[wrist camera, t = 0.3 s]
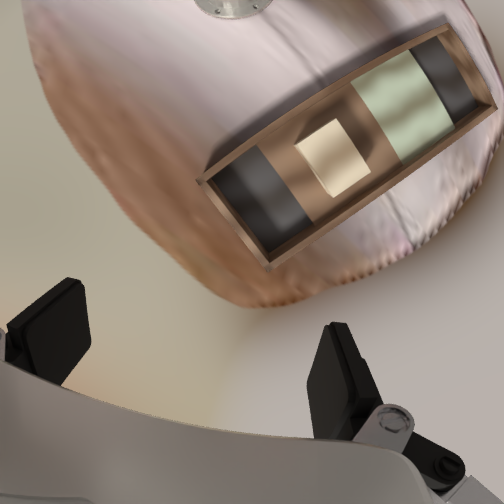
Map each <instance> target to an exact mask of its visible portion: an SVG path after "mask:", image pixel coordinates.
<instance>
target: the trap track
mask: <svg viewBox="0 0 504 504" xmlns="http://www.w3.org/2000/svg"><path fill="white" fill-rule="evenodd" d="M497 109H498V108H497V106H496V104H495V101H494V99H493V97H492V95H491V93H490V91H489V89H488V87H487V85H486V83H485V81H484V79H483V78H482V76H481V74H480V72H479V70H478V68H477V67H476V65H475V63H474V61H473V60H472V58H471V56H470V55H469V53H468V51H467V50H466V48H465V47H464V45H463V44H462V42H461V40H460V39H459V37H458V36H457V34H456V33H455V31H454V30H453V29H452V27H451V26H450V24H449V23H446V24H444V25H442V26H440V27H437V28H435V29H433V30H431V31H429V32H427V33H424V34H422V35H420V36H418V37H416V38H414V39H412V40H410V41H408V42H406V43H404V44H402V45H400V46H398V47H396V48H394V49H392V50H390V51H389V52H387V53H385V54H383V55H381V56H379V57H377V58H376V59H374V60H372V61H370V62H368V63H367V64H365V65H363V66H361V67H359V68H358V69H356V70H354V71H353V72H351V73H349V74H347V75H346V76H344V77H342V78H341V79H339V80H337V81H336V82H334V83H332V84H331V85H329V86H327V87H326V88H324V89H323V90H321V91H319V92H318V93H316V94H315V95H313V96H311V97H310V98H308V99H307V100H305V101H304V102H302V103H301V104H299V105H298V106H296V107H295V108H293V109H292V110H290V111H289V112H287V113H286V114H284V115H283V116H281V117H280V118H278V119H277V120H275V121H274V122H272V123H271V124H269V125H268V126H267V127H265V128H264V129H262V130H261V131H259V132H258V133H257V134H255V135H254V136H252V137H251V138H250V139H248V140H247V141H246V142H244V143H243V144H241V145H240V146H239V147H237V148H236V149H235V150H233V151H232V152H231V153H229V154H228V155H227V156H225V157H224V158H223V159H221V160H220V161H219V162H218V163H216V164H215V165H214V166H212V167H211V168H210V169H208V170H207V171H206V172H205V173H203V174H202V175H201V176H200V177H198V178H197V179H196V182H197V183H198V184H199V185H200V187H201V188H202V189H203V190H204V192H205V193H206V194H207V196H208V197H209V198H210V199H211V201H212V202H213V203H214V205H215V206H216V207H217V208H218V210H219V211H220V212H221V213H222V215H223V216H224V217H225V219H226V220H227V221H228V222H229V224H230V225H231V226H232V228H233V229H234V230H235V231H236V233H237V234H238V235H239V237H240V238H241V239H242V240H243V242H244V243H245V244H246V245H247V247H248V248H249V249H250V251H251V252H252V253H253V254H254V256H255V257H256V258H257V260H258V261H259V262H260V263H261V265H262V266H263V267H264V268H265V270H266V271H267V272H269V271H271V270H272V269H274V268H275V267H277V266H278V265H280V264H281V263H283V262H284V261H286V260H287V259H289V258H290V257H292V256H293V255H295V254H296V253H298V252H299V251H301V250H302V249H304V248H305V247H307V246H308V245H310V244H311V243H313V242H314V241H316V240H317V239H319V238H320V237H321V236H323V235H324V234H326V233H327V232H329V231H330V230H332V229H333V228H335V227H336V226H337V225H339V224H340V223H342V222H343V221H345V220H346V219H348V218H349V217H350V216H352V215H353V214H355V213H356V212H358V211H359V210H361V209H362V208H363V207H365V206H366V205H368V204H369V203H371V202H372V201H373V200H375V199H376V198H378V197H379V196H380V195H382V194H383V193H385V192H386V191H388V190H389V189H390V188H392V187H393V186H395V185H396V184H397V183H399V182H400V181H402V180H403V179H404V178H406V177H407V176H409V175H410V174H411V173H413V172H414V171H415V170H417V169H418V168H420V167H421V166H422V165H424V164H425V163H426V162H428V161H429V160H431V159H432V158H433V157H435V156H436V155H437V154H439V153H440V152H441V151H443V150H444V149H446V148H447V147H448V146H450V145H451V144H452V143H454V142H455V141H456V140H458V139H459V138H460V137H462V136H463V135H464V134H466V133H467V132H468V131H470V130H471V129H472V128H474V127H475V126H476V125H478V124H479V123H480V122H482V121H483V120H484V119H486V118H487V117H488V116H489V115H491V114H492V113H493V112H495V111H496V110H497ZM333 119H337V120H338V122H339V123H340V125H341V126H342V128H343V129H344V130H345V132H346V133H347V135H348V136H349V138H350V139H351V141H352V142H353V144H354V146H355V147H356V149H357V150H358V152H359V153H360V155H361V156H362V158H363V160H364V161H365V163H366V164H367V166H368V168H369V169H370V171H371V172H370V173H369V174H367V175H366V176H364V177H363V178H362V179H360V180H359V181H357V182H356V183H354V184H353V185H351V186H350V187H349V188H347V189H346V190H344V191H343V192H341V193H340V194H338V195H337V196H336V197H334V198H333V197H332V196H331V195H329V194H328V193H327V192H326V191H325V189H324V188H323V186H322V185H321V183H320V182H319V180H318V179H317V177H316V176H315V174H314V173H313V171H312V170H311V169H310V167H309V166H308V164H307V163H306V161H305V160H304V159H303V157H302V156H301V154H300V153H299V152H298V150H297V149H296V148H295V146H294V144H296V143H297V142H299V141H300V140H302V139H303V138H305V137H306V136H308V135H309V134H311V133H312V132H314V131H315V130H316V129H318V128H320V127H321V126H323V125H324V124H326V123H327V122H329V121H331V120H333Z"/></svg>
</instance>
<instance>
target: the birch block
mask: <svg viewBox="0 0 504 504" xmlns="http://www.w3.org/2000/svg"><path fill="white" fill-rule="evenodd" d="M294 146H295V148H296V149H297V150H298V152H299V153H300V154H301V156H302V157H303V159H304V160H305V161H306V163H307V164H308V166H309V167H310V169H311V170H312V171H313V173H314V174H315V176H316V177H317V179H318V180H319V182H320V183H321V185H322V186H323V188H324V189H325V191H326V192H327V193H328V194H329V195H331V196H332V197H333V198H334V197H336V196H337V195H338V194H340V193H341V192H343V191H344V190H346V189H347V188H349V187H350V186H351V185H353V184H354V183H356V182H357V181H359V180H360V179H362V178H363V177H364V176H366V175H367V174H369V173H370V172H371V171H370V169H369V168H368V166H367V164H366V163H365V161H364V160H363V158H362V156H361V155H360V153H359V152H358V150H357V149H356V147H355V146H354V144H353V142H352V141H351V139H350V138H349V136H348V135H347V133H346V132H345V130H344V129H343V128H342V126H341V125H340V123H339V122H338V120H337V119H333V120H331V121H329V122H327V123H326V124H324V125H323V126H321V127H320V128H318V129H316V130H315V131H314V132H312V133H311V134H309V135H308V136H306V137H305V138H303V139H302V140H300V141H299V142H297V143H296V144H294Z"/></svg>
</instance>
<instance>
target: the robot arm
mask: <svg viewBox="0 0 504 504" xmlns="http://www.w3.org/2000/svg"><path fill="white" fill-rule="evenodd" d="M194 1H195V3H196V4H197V6H198V7H199V8H200V9H201V10H202V11H203V12H205V13H206V14H208V15H210V16H213V17H216V18H221V19H241V18H246V17H249V16H252V15H255V14H257V13H258V12H260V11H262V10H263V9H265V8H266V7H267V6H268V5H269V4H270V3H271V1H272V0H194ZM254 8H257V9H254ZM217 13H219V14H217ZM7 328H8V332H7V333H6V334H5V332H4V330H2V329H1V328H0V504H504V503H503V502H502V501H501V500H500V499H499V498H497V497H496V496H495V495H494V494H493V493H492V492H490V491H489V490H488V489H487V488H485V487H484V486H483V485H482V484H481V483H480V482H479V481H478V480H476V479H475V478H474V477H473V476H472V475H470V476H469V477H467V476H466V475H465V465H464V462H463V461H462V459H461V458H460V457H459V456H458V455H456V454H455V453H453V452H451V451H449V450H447V449H445V448H443V447H441V446H439V445H437V444H435V443H433V442H432V441H430V440H428V439H426V438H424V437H422V436H421V435H419V434H417V433H415V432H413V430H414V425H415V424H414V419H413V417H412V415H411V414H410V413H409V412H408V411H407V410H406V409H404V408H403V407H401V406H398V405H394V404H383V401H382V399H381V396H380V394H379V391H378V389H377V387H376V384H375V382H374V379H373V377H372V375H371V372H370V370H369V368H368V365H367V363H366V361H365V359H363V358H362V357H361V355H360V353H359V350H358V348H357V346H356V344H355V341H354V339H353V337H352V334H351V332H350V330H349V328H348V325H347V324H346V323H340V322H331V323H330V325H325V327H324V330H323V333H322V336H321V339H320V343H319V346H318V349H317V352H316V355H315V358H314V362H313V365H312V368H311V371H310V374H309V376H308V380H307V393H308V399H309V406H310V413H311V420H312V426H313V434H314V439H312V438H298V437H282V436H271V435H261V434H251V433H242V432H234V431H228V430H221V429H215V428H209V427H204V426H198V425H193V424H188V423H183V422H178V421H173V420H169V419H164V418H160V417H156V416H152V415H148V414H144V413H140V412H137V411H133V410H130V409H126V408H123V407H119V406H116V405H113V404H110V403H107V402H104V401H101V400H98V399H94V398H92V397H89V396H86V395H83V394H80V393H77V392H75V391H72V390H69V389H67V388H64V387H62V386H61V384H62V383H63V382H64V380H65V379H66V378H67V377H68V375H69V374H70V373H71V371H72V370H73V369H74V367H75V366H76V365H77V363H78V362H79V361H80V360H81V358H82V357H83V356H84V354H85V353H86V352H87V351H88V349H89V348H90V345H91V335H90V328H89V321H88V313H87V305H86V296H85V287H84V285H83V284H82V283H81V281H80V280H77V279H74V278H69V277H67V278H65V279H64V280H62V281H61V282H60V283H58V284H57V285H56V286H54V287H53V288H52V289H50V290H49V291H48V292H47V293H45V294H44V295H42V296H41V297H40V298H39V299H37V300H36V301H35V302H34V303H32V304H31V305H30V306H28V307H27V308H26V309H25V310H24V311H22V312H21V313H20V314H19V315H17V316H16V317H15V318H14V319H12V320H11V321H10V322H9V323H7Z"/></svg>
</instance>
